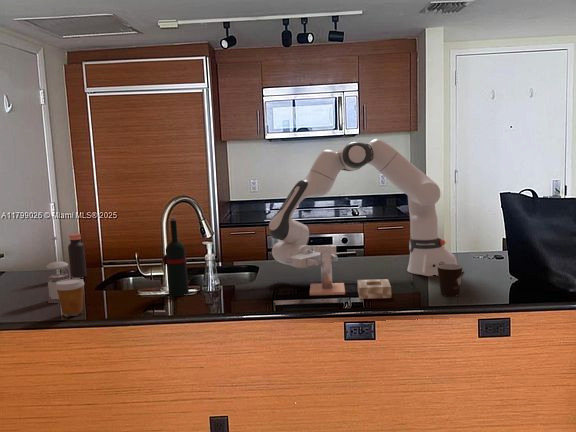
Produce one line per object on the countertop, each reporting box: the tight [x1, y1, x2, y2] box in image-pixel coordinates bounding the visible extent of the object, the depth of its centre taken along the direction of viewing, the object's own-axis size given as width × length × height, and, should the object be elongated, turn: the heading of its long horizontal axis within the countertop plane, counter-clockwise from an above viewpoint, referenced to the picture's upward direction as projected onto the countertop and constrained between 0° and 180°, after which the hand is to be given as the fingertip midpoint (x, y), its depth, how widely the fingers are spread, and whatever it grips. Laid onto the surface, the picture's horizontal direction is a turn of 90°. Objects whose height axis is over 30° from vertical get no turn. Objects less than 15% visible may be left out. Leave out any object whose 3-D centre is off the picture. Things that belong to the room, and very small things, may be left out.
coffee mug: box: [437, 263, 464, 297], centre depth 192 cm, size 12×9×10 cm
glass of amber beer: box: [55, 278, 85, 314], centre depth 188 cm, size 10×10×12 cm
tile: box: [309, 282, 346, 296], centre depth 205 cm, size 13×13×1 cm
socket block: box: [357, 278, 392, 300], centre depth 196 cm, size 11×11×4 cm
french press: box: [45, 236, 71, 299], centre depth 208 cm, size 10×12×25 cm
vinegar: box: [67, 233, 88, 277], centre depth 245 cm, size 7×7×20 cm
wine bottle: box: [161, 216, 190, 297], centre depth 208 cm, size 8×10×30 cm
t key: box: [314, 244, 337, 289], centre depth 204 cm, size 8×4×16 cm, turn 86°
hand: (327, 260), depth 203 cm, fingers open, 8 cm apart
